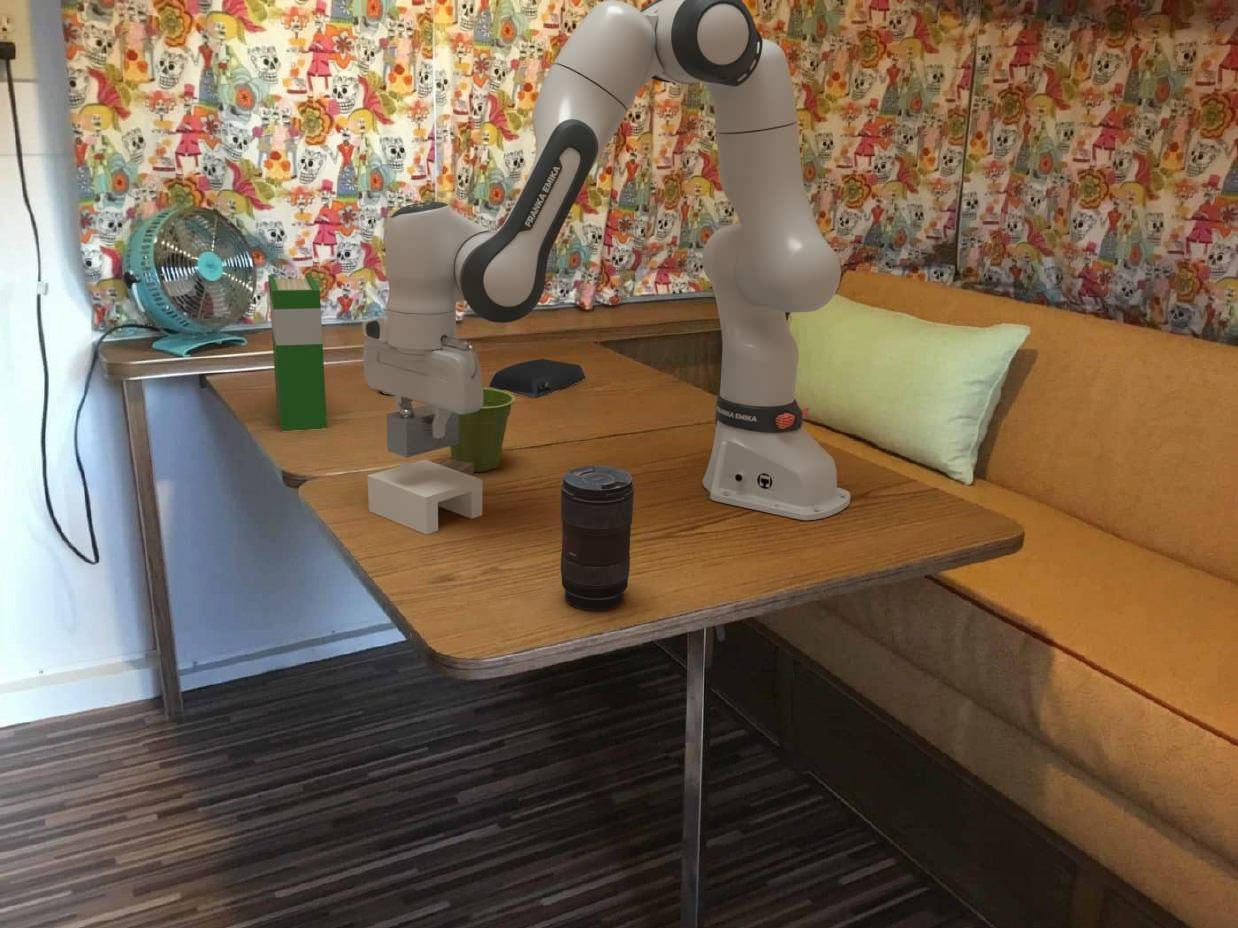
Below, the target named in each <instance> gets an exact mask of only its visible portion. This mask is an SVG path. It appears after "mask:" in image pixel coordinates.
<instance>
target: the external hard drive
mask: <svg viewBox="0 0 1238 928" xmlns="http://www.w3.org/2000/svg"><path fill="white" fill-rule="evenodd" d="M585 375H586V374H585V373H584V370H583V368H582V366H581V365H580V364H574V363H569V362H563V361H557V360H551V359H547V358H546V359H545V358H535V359H531V360H527V361H526V360H524V361H522V362H517V363H514V364H511V365H508V366H505V367H503V368H501V369H499V370H497V371H496V372H494V373H493V375H492V377H491V379H490V381H489V383H488V385H487V387H488V386H489V387H492V388H495V389H499V390H507V391H510V392H513V393H516V394H520V395H523V396H522V397H525V396H527V397H526V398H531V399H537V398H541V396H542V397H544V395H545V396H548V395H547V394H549V393H552V392H554V391H557V390H561V391H563V390H562V389H564V390H566V389H565V388H567V387H569V386H571V385H573V384H575V383H578V382H580V381H582V380H583V379H585V378H586V376H585ZM569 388H570V387H569ZM567 389H568V388H567ZM552 394H553V393H552ZM520 395H519V396H520ZM549 395H550V394H549Z"/></svg>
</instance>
